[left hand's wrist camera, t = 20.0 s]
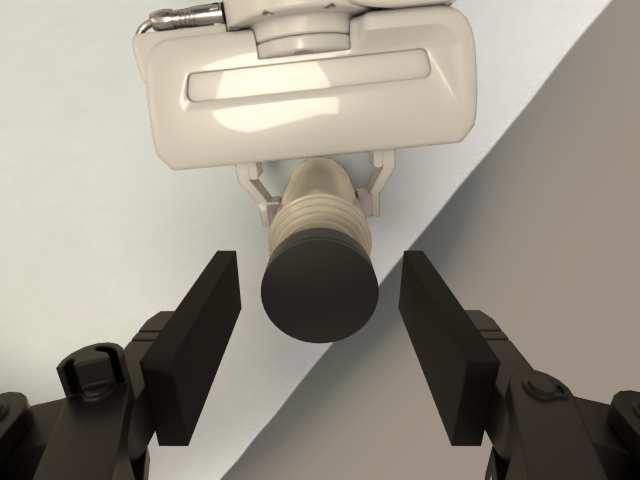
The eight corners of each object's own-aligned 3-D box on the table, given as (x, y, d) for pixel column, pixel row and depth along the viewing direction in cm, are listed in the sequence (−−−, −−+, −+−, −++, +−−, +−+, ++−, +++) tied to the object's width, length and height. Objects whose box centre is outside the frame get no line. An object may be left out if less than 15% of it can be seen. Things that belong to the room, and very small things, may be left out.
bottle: (322, 230, 32) (324, 362, 15) (276, 191, 31) (225, 291, 14) (363, 186, 30) (415, 281, 14) (317, 143, 29) (313, 192, 13)
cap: (252, 302, 15) (245, 322, 14) (287, 210, 14) (284, 222, 12) (347, 334, 16) (349, 357, 14) (391, 249, 14) (399, 265, 13)
